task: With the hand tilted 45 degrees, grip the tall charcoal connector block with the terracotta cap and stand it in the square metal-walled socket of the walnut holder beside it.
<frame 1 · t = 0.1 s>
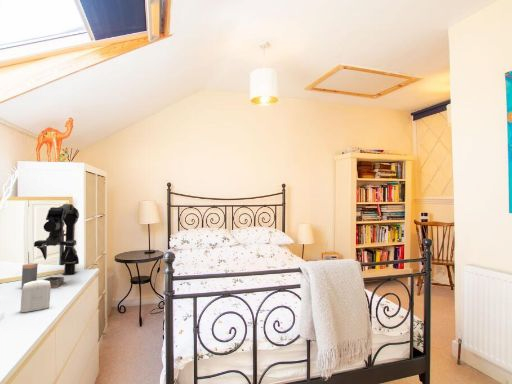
hand: (55, 259, 166), 15 cm above the table, tool pointing down, fingers open, 9 cm apart
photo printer: (35, 310, 132), on the table
holder: (52, 285, 167), on the table
connector: (28, 288, 161), on the table
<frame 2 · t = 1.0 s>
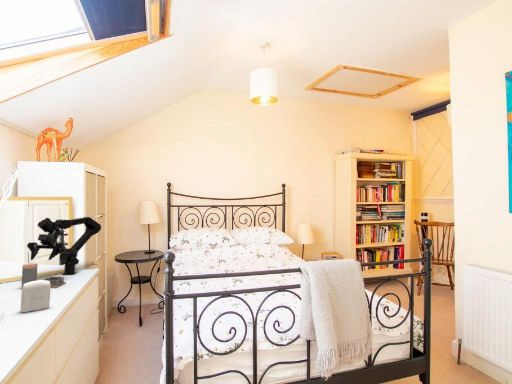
hand: (40, 259, 169), 13 cm above the table, tool tilted 45°, fingers open, 9 cm apart
nothing on the table moved.
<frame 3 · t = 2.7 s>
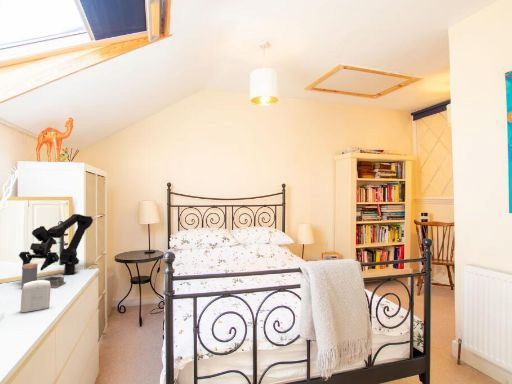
hand: (31, 270, 163), 9 cm above the table, tool tilted 45°, fingers open, 9 cm apart
nothing on the table moved.
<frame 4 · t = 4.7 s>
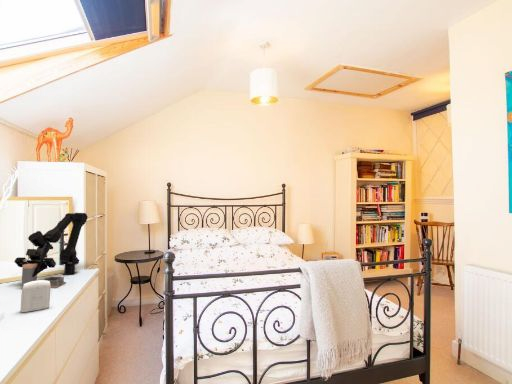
hand: (27, 276, 160), 7 cm above the table, tool tilted 45°, fingers closed on connector, 5 cm apart
connector: (28, 288, 161), on the table, touching gripper
everything else where it was.
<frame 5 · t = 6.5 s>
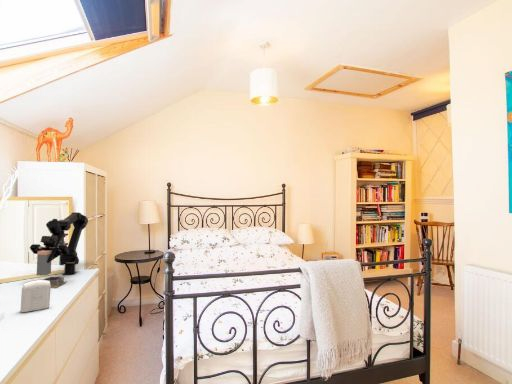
hand: (42, 262, 163), 13 cm above the table, tool tilted 45°, fingers closed on connector, 5 cm apart
connector: (43, 274, 165), point 7 cm above the table, touching gripper
everything else where it was.
when the fingers open (9 cm above the table, at t = 8.7 s): connector drops 1 cm, resting on holder.
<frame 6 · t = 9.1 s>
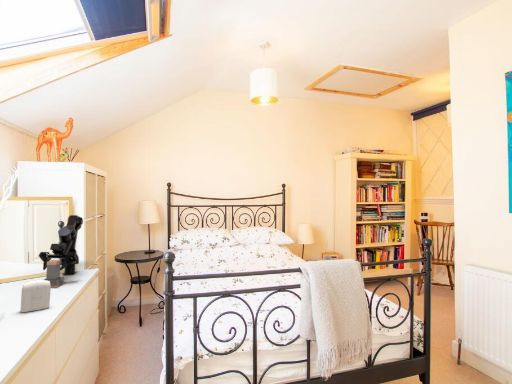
hand: (52, 269, 165), 9 cm above the table, tool tilted 45°, fingers open, 8 cm apart
connector: (52, 284, 167), point 1 cm above the table, touching holder
everything else where it was.
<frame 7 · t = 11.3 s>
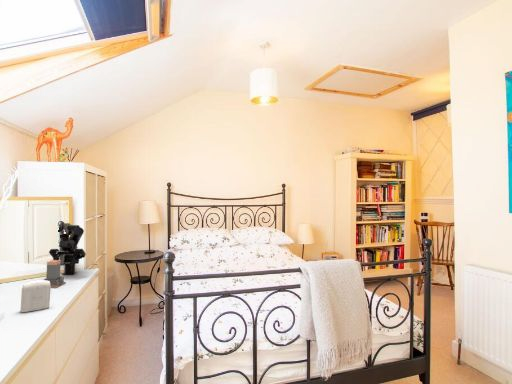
hand: (61, 265, 175), 9 cm above the table, tool tilted 45°, fingers open, 9 cm apart
nothing on the table moved.
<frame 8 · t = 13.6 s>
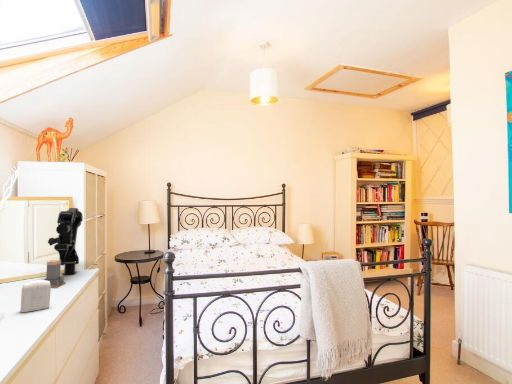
hand: (64, 259, 179), 12 cm above the table, tool pointing down, fingers open, 9 cm apart
nothing on the table moved.
at the end: connector 0.0 cm off-centre on the holder, point 0.8 cm above the holder's base; connector tilted 0°; the gripper is holding nothing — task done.
